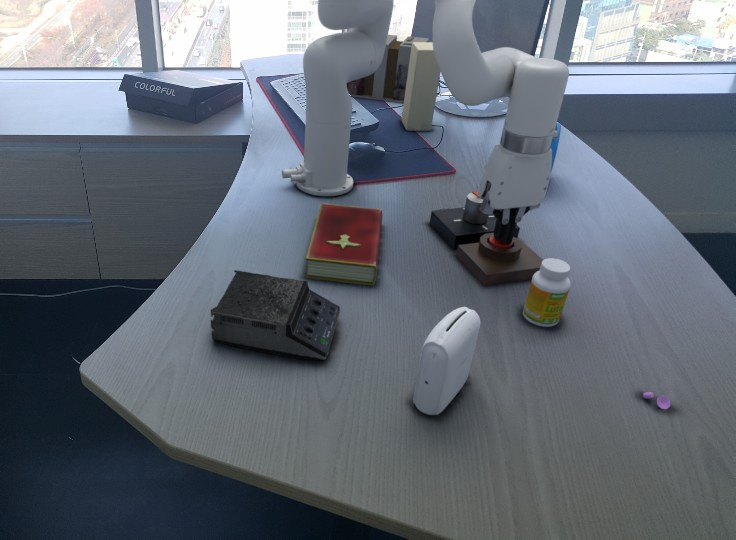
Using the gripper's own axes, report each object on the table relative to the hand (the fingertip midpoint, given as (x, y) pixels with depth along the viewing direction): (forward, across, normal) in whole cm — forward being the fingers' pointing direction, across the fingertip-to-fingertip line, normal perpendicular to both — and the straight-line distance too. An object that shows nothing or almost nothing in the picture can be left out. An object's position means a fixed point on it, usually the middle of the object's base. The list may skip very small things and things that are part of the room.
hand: (502, 240), depth 111 cm
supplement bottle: (+5, +2, +16) cm, 17 cm away
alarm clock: (+5, -26, -30) cm, 40 cm away
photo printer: (+5, +25, +28) cm, 38 cm away
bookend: (+4, -18, -98) cm, 99 cm away
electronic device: (+5, +43, +10) cm, 45 cm away
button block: (+4, 0, +1) cm, 5 cm away
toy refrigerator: (+5, -16, -68) cm, 70 cm away
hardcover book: (+5, +25, -10) cm, 27 cm away
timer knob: (+1, -1, -11) cm, 11 cm away
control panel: (+4, -1, -11) cm, 12 cm away
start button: (+2, 0, 0) cm, 2 cm away
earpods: (+5, -2, +36) cm, 37 cm away
